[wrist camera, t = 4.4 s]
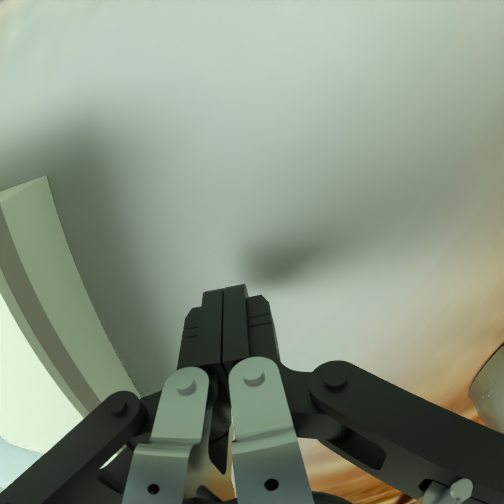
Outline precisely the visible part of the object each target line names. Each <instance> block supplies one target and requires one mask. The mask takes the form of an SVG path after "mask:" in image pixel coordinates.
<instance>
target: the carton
mask: <svg viewBox="0 0 504 504" xmlns="http://www.w3.org/2000/svg"><path fill="white" fill-rule="evenodd" d="M118 391H130V392H133V393H134V394H135V395H136V396H137V397H138V398H139V399H141V396H140V395H139V393H138V391H137V390H136V388H135V386H134V384H133V383H132V381H131V379H130V378H129V376H128V374H127V372H126V371H125V369H124V367H123V365H122V363H121V361H120V360H119V358H118V356H117V354H116V352H115V350H114V348H113V346H112V345H111V343H110V341H109V339H108V337H107V335H106V333H105V331H104V329H103V327H102V324H101V322H100V320H99V318H98V316H97V314H96V312H95V310H94V307H93V305H92V303H91V301H90V298H89V296H88V294H87V292H86V289H85V287H84V285H83V282H82V280H81V277H80V275H79V272H78V270H77V267H76V265H75V262H74V260H73V257H72V254H71V252H70V249H69V246H68V243H67V241H66V238H65V235H64V232H63V229H62V226H61V223H60V220H59V217H58V214H57V210H56V207H55V204H54V200H53V197H52V194H51V190H50V186H49V183H48V179H47V176H44V177H40V178H37V179H34V180H31V181H28V182H25V183H23V184H20V185H17V186H14V187H11V188H8V189H6V190H3V191H0V436H1V437H2V438H3V439H5V440H6V441H7V442H8V443H10V444H13V445H16V446H19V447H22V448H25V449H29V450H32V451H36V452H39V453H43V454H45V453H46V452H47V451H48V450H50V449H51V448H52V447H53V446H54V445H55V444H56V443H57V442H58V441H60V440H61V439H62V438H63V437H64V436H65V435H66V434H67V433H68V432H70V431H71V430H72V429H73V428H74V427H75V426H76V425H77V424H78V423H80V422H81V421H82V420H83V419H84V418H85V417H86V416H87V415H88V414H89V413H91V412H92V411H93V410H94V409H95V408H96V407H97V406H98V405H99V404H101V403H102V402H103V401H104V400H105V399H106V398H107V397H108V396H110V395H111V394H113V393H115V392H118ZM125 447H126V445H124V446H123V447H122V448H121V449H120V450H119V451H118V452H117V453H116V454H114V455H113V456H112V457H111V458H110V459H109V460H108V461H107V462H106V463H105V464H104V465H103V466H107V465H108V464H109V463H110V462H111V461H112V460H113V459H114V458H115V457H116V456H117V455H118V454H119V453H120V452H121V451H122V450H123V449H124V448H125Z"/></svg>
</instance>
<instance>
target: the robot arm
mask: <svg viewBox="0 0 504 504" xmlns="http://www.w3.org/2000/svg"><path fill="white" fill-rule="evenodd" d="M469 396H470V398H471V400H472V402H473V404H474V406H475V408H476V410H477V412H478V414H479V415H480V417H481V419H482V420H483V422H484V424H485V426H483V425H481V424H479V423H476V422H474V421H472V420H469V419H467V418H465V417H462V416H460V415H458V414H456V413H453V412H451V411H449V410H447V409H444V408H442V407H440V406H438V405H436V404H433V403H431V402H429V401H427V400H425V399H423V398H421V397H418V396H416V395H414V394H412V393H410V392H408V391H406V390H404V389H402V388H400V387H397V386H395V385H393V384H391V383H389V382H387V381H385V380H383V379H381V378H379V377H377V376H375V375H373V374H371V373H369V372H367V371H365V370H363V369H361V368H359V367H357V366H355V365H353V364H351V363H349V362H346V361H330V362H326V363H324V364H322V365H320V366H318V367H317V368H316V369H315V370H314V371H313V372H299V371H294V370H291V369H288V368H287V367H285V366H284V365H283V364H282V363H281V361H280V355H279V349H278V343H277V337H276V332H275V327H274V323H273V319H272V314H271V310H270V305H269V302H268V301H267V300H266V299H265V298H264V297H263V296H262V295H258V296H253V297H249V296H248V293H247V289H246V286H245V284H241V285H236V286H231V287H226V288H222V289H217V290H211V291H206V292H204V293H203V298H202V306H201V307H196V308H192V309H191V311H190V312H189V314H188V315H187V317H186V318H185V323H184V331H183V335H182V341H181V347H180V353H179V360H178V366H177V371H175V372H174V373H172V374H171V375H170V376H169V377H168V378H167V379H166V381H165V383H164V386H163V390H161V391H159V392H157V393H155V394H152V395H149V396H146V397H143V398H141V399H139V398H138V397H137V396H136V395H135V394H134V393H133V392H130V391H118V392H115V393H113V394H111V395H110V396H108V397H107V398H106V399H105V400H104V401H103V402H102V403H101V404H99V405H98V406H97V407H96V408H95V409H94V410H93V411H92V412H91V413H89V414H88V415H87V416H86V417H85V418H84V419H83V420H82V421H81V422H80V423H78V424H77V425H76V426H75V427H74V428H73V429H72V430H71V431H70V432H68V433H67V434H66V435H65V436H64V437H63V438H62V439H61V440H60V441H58V442H57V443H56V444H55V445H54V446H53V447H52V448H51V449H50V450H48V451H47V452H46V453H45V454H44V455H43V456H42V457H41V458H40V459H38V460H37V461H36V462H35V463H34V464H33V465H32V466H31V467H29V468H28V469H27V470H26V471H25V472H24V473H23V474H22V475H20V476H19V477H18V478H17V479H16V480H15V481H14V482H13V483H11V484H10V485H9V486H8V487H7V488H6V489H5V490H3V491H2V492H1V493H0V504H353V503H351V502H349V501H347V500H345V499H343V498H341V497H338V496H335V495H332V494H328V493H324V492H316V491H311V489H310V485H309V481H308V477H307V474H306V470H305V466H304V462H303V459H302V455H301V451H300V447H299V444H298V440H297V437H299V438H311V439H317V440H318V441H319V442H320V443H322V444H323V445H324V446H326V447H328V448H329V449H331V450H332V451H334V452H335V453H337V454H338V455H340V456H341V457H343V458H345V459H346V460H348V461H349V462H351V463H353V464H354V465H356V466H357V467H359V468H361V469H362V470H364V471H366V472H367V473H369V474H371V475H373V476H374V477H376V478H378V479H379V480H381V481H383V482H385V483H386V484H388V485H390V486H392V487H394V488H396V489H397V490H399V491H401V492H403V493H405V494H407V495H409V496H411V497H413V498H414V499H416V500H417V501H416V502H415V504H504V345H503V346H502V347H501V348H500V349H499V350H498V351H497V352H496V353H495V354H494V355H493V357H492V358H491V359H490V360H489V361H488V362H487V363H486V365H485V366H484V367H483V368H482V370H481V371H480V372H479V374H478V375H477V377H476V378H475V380H474V382H473V383H472V386H471V388H470V391H469ZM231 408H232V416H233V423H232V421H231ZM233 425H234V426H233ZM234 433H235V440H234V441H233V434H234ZM124 445H126V447H125V448H124V449H123V450H122V451H121V452H120V453H119V454H118V455H117V456H116V457H115V458H114V459H113V460H112V461H111V462H110V463H109V464H108V465H107V466H105V467H104V468H102V469H100V468H101V467H102V466H103V465H104V464H105V463H106V462H107V461H108V460H109V459H110V458H111V457H112V456H113V455H114V454H116V453H117V452H118V451H119V450H120V449H121V448H122V447H123V446H124ZM232 462H233V470H234V478H235V486H236V494H237V498H235V496H234V488H233V485H232V481H231V466H232Z"/></svg>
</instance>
